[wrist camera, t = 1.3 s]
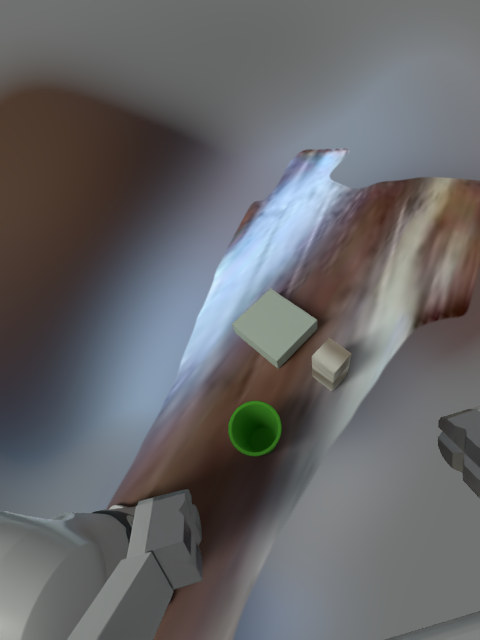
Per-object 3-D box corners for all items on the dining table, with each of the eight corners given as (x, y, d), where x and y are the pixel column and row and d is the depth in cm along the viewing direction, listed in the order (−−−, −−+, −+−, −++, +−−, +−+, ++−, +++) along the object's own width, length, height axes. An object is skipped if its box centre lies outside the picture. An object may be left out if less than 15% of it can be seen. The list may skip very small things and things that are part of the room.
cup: (234, 428, 65) (220, 413, 56) (274, 410, 65) (268, 392, 56) (251, 474, 60) (239, 465, 51) (295, 453, 60) (291, 441, 51)
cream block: (332, 391, 65) (334, 373, 57) (312, 376, 67) (311, 356, 59) (347, 374, 66) (351, 353, 58) (327, 360, 69) (329, 337, 60)
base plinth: (278, 369, 70) (276, 361, 66) (235, 333, 77) (231, 324, 73) (317, 329, 73) (317, 320, 70) (272, 298, 80) (270, 288, 77)
